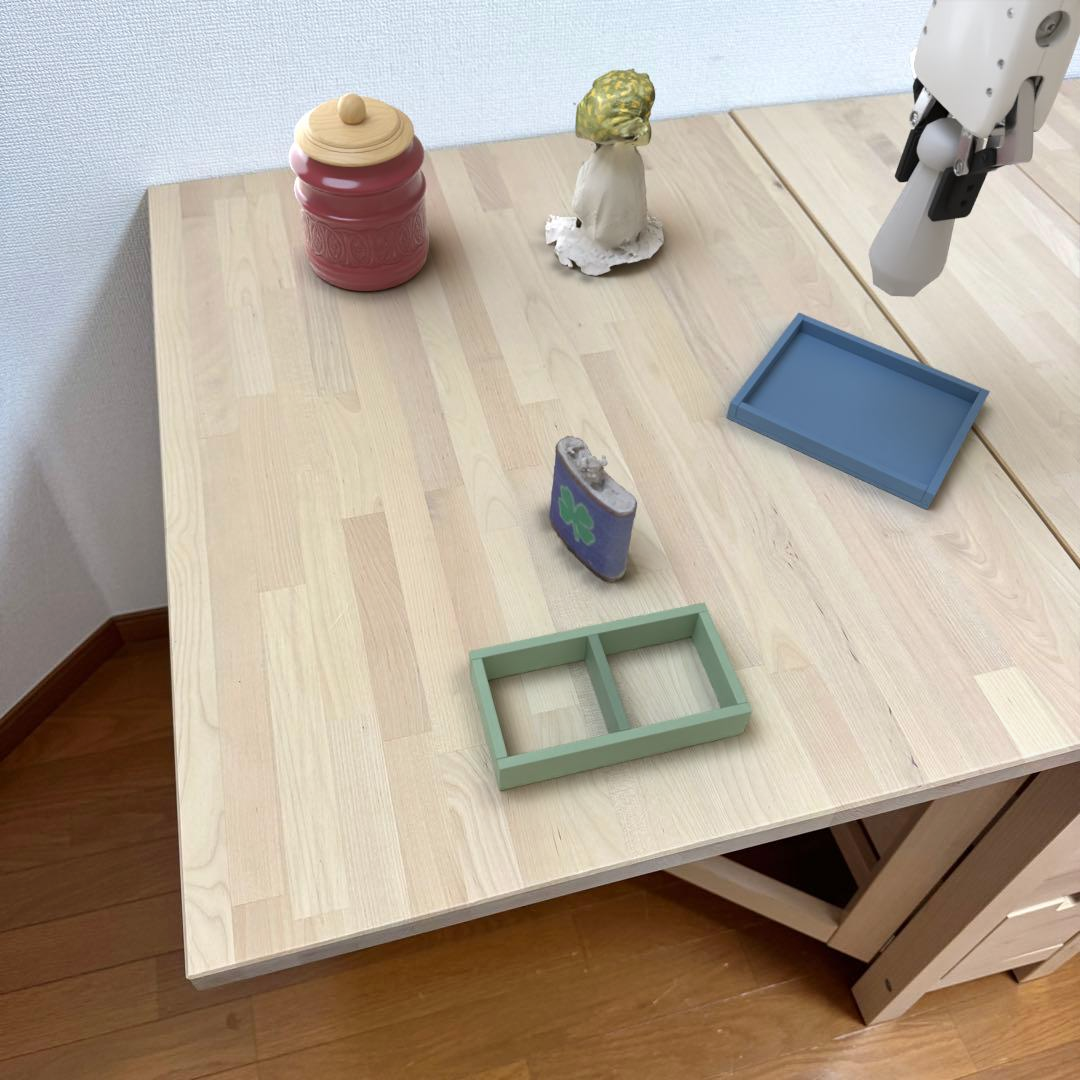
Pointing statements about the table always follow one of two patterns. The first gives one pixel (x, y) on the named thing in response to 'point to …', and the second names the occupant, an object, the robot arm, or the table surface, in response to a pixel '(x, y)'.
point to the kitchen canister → (360, 193)
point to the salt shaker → (917, 218)
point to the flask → (591, 510)
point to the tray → (859, 408)
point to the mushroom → (610, 179)
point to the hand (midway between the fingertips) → (931, 195)
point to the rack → (609, 693)
